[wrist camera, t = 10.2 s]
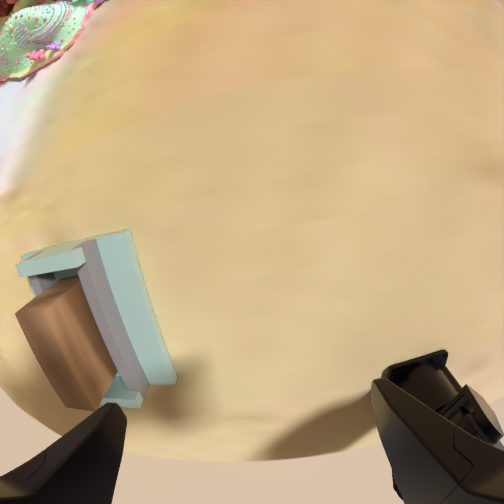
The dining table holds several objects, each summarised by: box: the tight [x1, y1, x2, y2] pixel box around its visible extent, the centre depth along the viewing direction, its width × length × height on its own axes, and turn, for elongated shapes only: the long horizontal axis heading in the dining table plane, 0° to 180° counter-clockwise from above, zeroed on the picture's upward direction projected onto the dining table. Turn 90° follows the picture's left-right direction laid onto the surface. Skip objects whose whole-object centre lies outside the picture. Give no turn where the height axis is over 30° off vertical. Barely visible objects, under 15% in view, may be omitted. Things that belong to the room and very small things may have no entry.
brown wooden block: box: [15, 275, 118, 411], centre depth 18 cm, size 3×8×6 cm, turn 9°
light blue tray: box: [16, 229, 178, 408], centre depth 20 cm, size 11×13×4 cm
